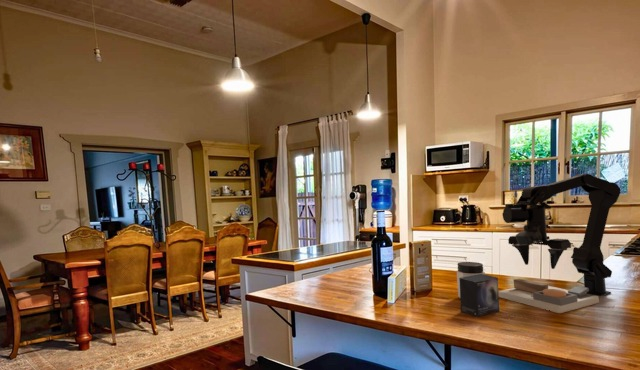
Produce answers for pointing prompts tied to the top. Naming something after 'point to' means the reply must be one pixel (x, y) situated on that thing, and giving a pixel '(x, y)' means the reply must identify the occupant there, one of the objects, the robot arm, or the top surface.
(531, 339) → the top surface
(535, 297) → the panel
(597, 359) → the top surface
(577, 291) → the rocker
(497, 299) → the small box
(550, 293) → the push button
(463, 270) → the jar
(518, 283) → the slider bar
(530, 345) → the top surface
